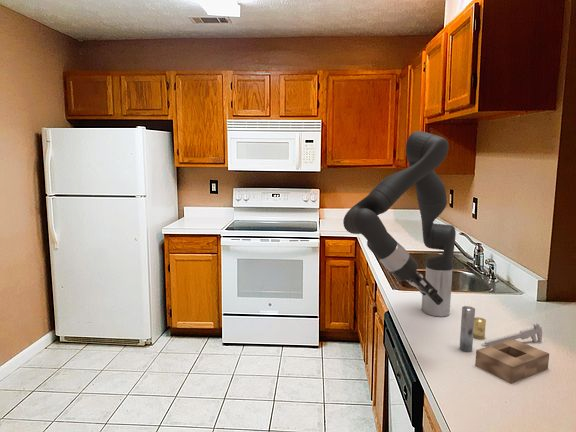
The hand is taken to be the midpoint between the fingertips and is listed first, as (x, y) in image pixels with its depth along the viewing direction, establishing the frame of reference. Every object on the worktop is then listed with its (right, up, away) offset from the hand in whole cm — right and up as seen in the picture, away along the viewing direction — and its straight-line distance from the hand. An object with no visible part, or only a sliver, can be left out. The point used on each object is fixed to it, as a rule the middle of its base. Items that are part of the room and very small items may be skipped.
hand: (433, 297), depth 127 cm
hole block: (+20, -18, -6) cm, 28 cm away
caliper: (+27, -16, +9) cm, 33 cm away
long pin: (+11, -16, +4) cm, 21 cm away
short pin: (+19, -15, +13) cm, 28 cm away
